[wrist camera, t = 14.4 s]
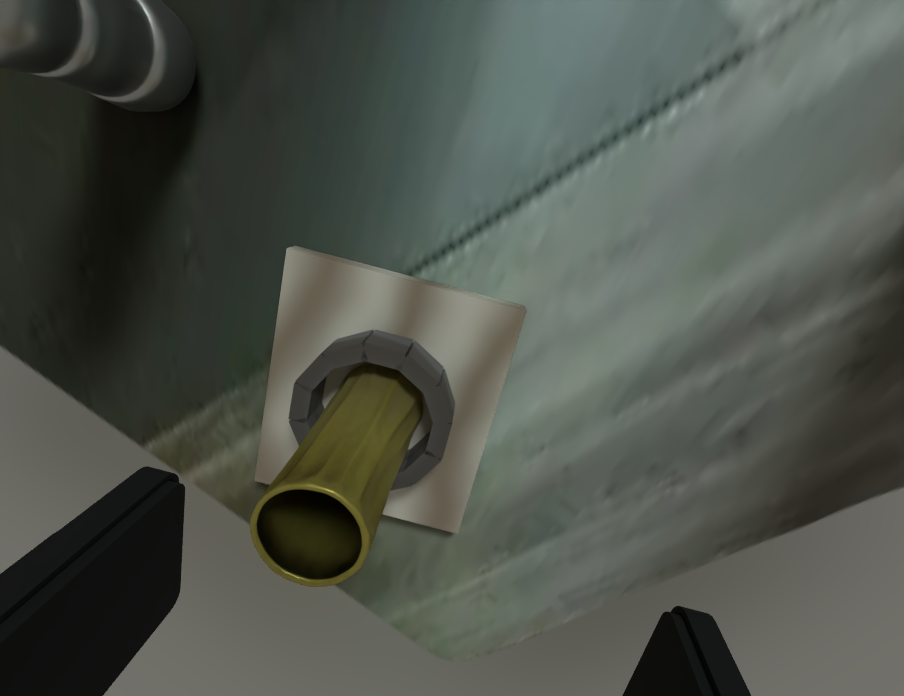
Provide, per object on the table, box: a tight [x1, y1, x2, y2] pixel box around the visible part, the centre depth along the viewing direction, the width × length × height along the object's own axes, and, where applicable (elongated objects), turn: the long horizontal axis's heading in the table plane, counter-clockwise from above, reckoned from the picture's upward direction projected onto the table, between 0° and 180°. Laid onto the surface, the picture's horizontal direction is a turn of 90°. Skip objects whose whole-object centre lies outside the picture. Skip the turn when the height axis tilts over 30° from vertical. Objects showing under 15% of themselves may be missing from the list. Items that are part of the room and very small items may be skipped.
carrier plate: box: [254, 246, 526, 534], centre depth 33 cm, size 16×18×4 cm
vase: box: [250, 363, 424, 587], centre depth 27 cm, size 6×6×14 cm
